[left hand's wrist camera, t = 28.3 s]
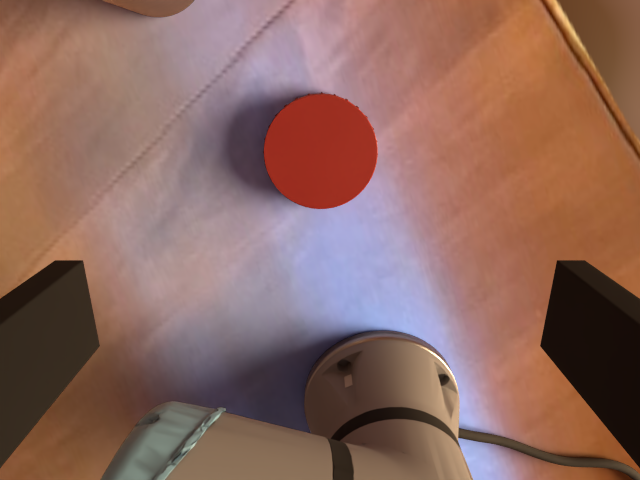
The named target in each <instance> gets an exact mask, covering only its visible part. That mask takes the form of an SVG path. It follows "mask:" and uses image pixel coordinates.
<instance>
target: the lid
mask: <svg viewBox="0 0 640 480" xmlns="http://www.w3.org/2000/svg"><path fill="white" fill-rule="evenodd" d="M284 107H285V108H283V109H282V110H281V111H280V112H279V113H277V114H276V115H275V116H276V117H275V118H274V120H273V121H272V123H271V125H270V126H269V129H268V131H267V134H266V138H265V143H264V151H263V153H264V161H265V165H266V169H267V172H268V175H269V177H270V179H271V180H272V182H273V184H274V185H275V186H276V188H277V189H278V190H279V191H280V192H281V193H282V194H283V195H284V196H285V197H287V198H288V199H290V200H291V201H293V202H295V203H297V204H299V205H302V206H304V207H309V208H315V209H327V208H333V207H337V206H340V205H342V204H345V203H347V202H348V201H350V200H352V199H353V198H355V197H356V196H357V195H358V194H359V193H360V192H361V191H362V190H363V189H364V188H365V187H366V185H367V184H368V183H369V181H370V179H371V177H372V175H373V173H374V170H375V167H376V163H377V155H378V153H377V140H376V137H375V133H374V131H373V130H374V129H373V127H372V126H371V124H370V123H369V121H368V119H367V116H365V115H364V114H363V113H362V112H361V111H360V110H359V107H357V106H354V105H353V104H352V103H350V102H349V101H348V100H347V99H343V98H341V97H338V96H336V95H335V94H334V95H331V94H323V93H322V92H321V93H320V94H311V95H310V94H308V95H306V96H303V97H300V98H296V99H295V100H294V101H292V102H291V103H290V104H288V105H287V104H286V105H285V106H284Z"/></svg>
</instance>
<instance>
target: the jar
mask: <svg viewBox="0 0 640 480" xmlns="http://www.w3.org/2000/svg"><path fill="white" fill-rule="evenodd" d="M102 1H105V2H108V3H111V4H114V5H116V6H119V7H122V8H125V9H128V10H131V11H134V12H137V13H140V14H142V15H146V16H150V17H167V16H171V15H174V14H177V13H179V12H181V11H183V10H184V9H186V8H187V7H188V6H189V5H190V4H191V3H192V2H193V1H194V0H102Z"/></svg>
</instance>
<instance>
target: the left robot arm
mask: <svg viewBox="0 0 640 480" xmlns="http://www.w3.org/2000/svg"><path fill="white" fill-rule="evenodd" d="M99 346H100V345H99V340H98V335H97V330H96V325H95V320H94V315H93V309H92V304H91V299H90V294H89V289H88V284H87V279H86V274H85V269H84V264H83V261H54V262H52V263H51V264H50V265H48V266H47V267H45V268H44V269H42V270H41V271H39V272H38V273H37V274H35V275H34V276H32V277H31V278H29V279H28V280H27V281H25V282H24V283H22V284H21V285H19V286H18V287H17V288H15V289H14V290H12V291H11V292H9V293H8V294H7V295H5V296H4V297H2V298H1V299H0V468H1V466H2V465H3V464H4V463H5V461H6V460H7V459H8V458H9V457H10V455H11V454H12V453H13V452H14V450H15V449H16V448H17V447H18V446H19V444H20V443H21V442H22V441H23V439H24V438H25V437H26V436H27V435H28V433H29V432H30V431H31V430H32V428H33V427H34V426H35V425H36V423H37V422H38V421H39V420H40V419H41V417H42V416H43V415H44V414H45V412H46V411H47V410H48V409H49V408H50V406H51V405H52V404H53V403H54V401H55V400H56V399H57V398H58V397H59V395H60V394H61V393H62V392H63V390H64V389H65V388H66V387H67V385H68V384H69V383H70V382H71V381H72V379H73V378H74V377H75V376H76V374H77V373H78V372H79V371H80V370H81V368H82V367H83V366H84V365H85V363H86V362H87V361H88V360H89V358H90V357H91V356H92V355H93V354H94V352H95V351H96V350H97V349H98V347H99ZM540 346H541V347H542V349H543V350H544V351H545V352H546V354H547V355H548V356H549V357H550V358H551V360H552V361H553V362H554V363H555V365H556V366H557V367H558V368H559V370H560V371H561V372H562V373H563V374H564V376H565V377H566V378H567V379H568V381H569V382H570V383H571V384H572V385H573V387H574V388H575V389H576V390H577V392H578V393H579V394H580V395H581V397H582V398H583V399H584V400H585V401H586V403H587V404H588V405H589V406H590V408H591V409H592V410H593V411H594V412H595V414H596V415H597V416H598V417H599V419H600V420H601V421H602V422H603V423H604V425H605V426H606V427H607V428H608V430H609V431H610V432H611V433H612V435H613V436H614V437H615V438H616V439H617V441H618V442H619V443H620V444H621V446H622V447H623V448H624V449H625V450H626V452H627V453H628V454H629V455H630V457H631V458H632V459H633V460H634V461H635V463H636V464H637V465H638V466H639V468H640V299H639V298H638V297H636V296H635V295H633V294H632V293H631V292H629V291H628V290H626V289H625V288H623V287H622V286H621V285H619V284H618V283H616V282H615V281H613V280H612V279H611V278H609V277H608V276H606V275H605V274H603V273H602V272H601V271H599V270H598V269H596V268H595V267H593V266H592V265H590V264H589V263H588V262H586V261H557V264H556V269H555V274H554V279H553V284H552V289H551V294H550V299H549V304H548V309H547V315H546V320H545V325H544V330H543V335H542V340H541V345H540ZM304 409H305V416H306V420H307V424H308V427H309V429H310V432H311V433H307V432H303V431H299V430H295V429H291V428H287V427H283V426H279V425H275V424H271V423H266V422H262V421H258V420H254V419H250V418H246V417H242V416H238V415H234V414H230V413H226V412H225V411H226V408H222V407H219V408H217V409H213V408H208V407H203V406H197V405H192V404H187V403H182V402H175V401H172V402H165V403H162V404H160V405H158V406H156V407H154V408H153V409H151V410H150V411H149V412H148V413H146V414H145V415H144V416H143V417H142V418H141V419H140V421H139V422H138V423H137V424H136V425H135V427H134V428H133V429H132V431H131V432H130V434H129V435H128V436H127V438H126V439H125V441H124V442H123V444H122V445H121V447H120V448H119V450H118V451H117V453H116V454H115V456H114V458H113V459H112V461H111V463H110V464H109V466H108V468H107V469H106V471H105V473H104V474H103V476H102V478H101V480H473V478H472V476H471V473H470V471H469V468H468V466H467V463H466V461H465V458H464V456H463V453H462V451H461V448H460V446H459V443H458V438H463V439H468V440H473V441H478V442H485V443H491V444H496V445H501V446H504V447H508V448H511V449H514V450H517V451H519V452H522V453H524V454H527V455H530V456H532V457H535V458H538V459H541V460H544V461H547V462H551V463H554V464H559V465H564V466H572V467H599V468H609V469H614V470H618V471H621V472H623V473H625V474H626V475H628V476H629V477H631V478H632V479H633V480H640V474H639V473H638V472H637V471H635V470H634V469H633V468H631V467H630V466H628V465H626V464H623V463H621V462H617V461H614V460H609V459H602V458H576V457H565V456H559V455H554V454H550V453H547V452H544V451H541V450H538V449H535V448H533V447H530V446H528V445H525V444H522V443H520V442H517V441H514V440H511V439H508V438H505V437H501V436H497V435H493V434H487V433H481V432H475V431H470V430H465V429H460V428H459V393H458V387H457V384H456V381H455V378H454V376H453V374H452V372H451V369H450V367H449V365H448V363H447V362H446V360H445V359H444V358H443V356H442V355H441V354H440V353H439V352H438V351H437V350H436V349H435V348H434V347H432V346H431V345H430V344H428V343H427V342H425V341H423V340H421V339H419V338H417V337H415V336H412V335H409V334H406V333H401V332H396V331H371V332H365V333H360V334H357V335H354V336H351V337H348V338H346V339H344V340H342V341H340V342H338V343H337V344H335V345H334V346H332V347H331V348H329V349H328V350H327V351H326V352H325V353H324V354H323V355H322V356H321V357H320V358H319V359H318V360H317V361H316V363H315V364H314V366H313V367H312V369H311V371H310V373H309V376H308V378H307V382H306V387H305V399H304Z"/></svg>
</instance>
